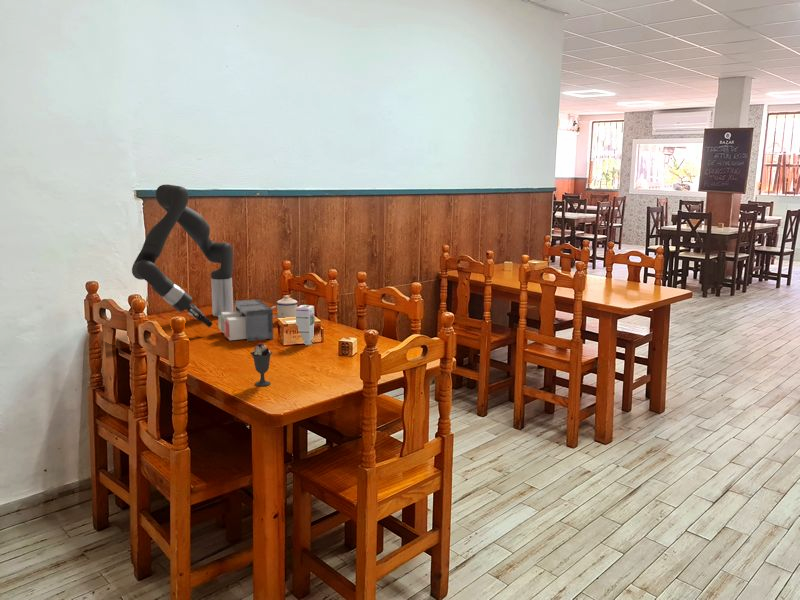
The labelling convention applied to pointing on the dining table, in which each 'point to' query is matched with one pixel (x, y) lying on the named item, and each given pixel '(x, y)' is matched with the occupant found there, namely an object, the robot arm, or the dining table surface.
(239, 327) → the white cube pink side
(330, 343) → the dining table surface
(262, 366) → the sundae
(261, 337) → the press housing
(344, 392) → the dining table surface
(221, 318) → the pale greenish white box
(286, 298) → the teacup with lid
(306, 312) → the syrup box
